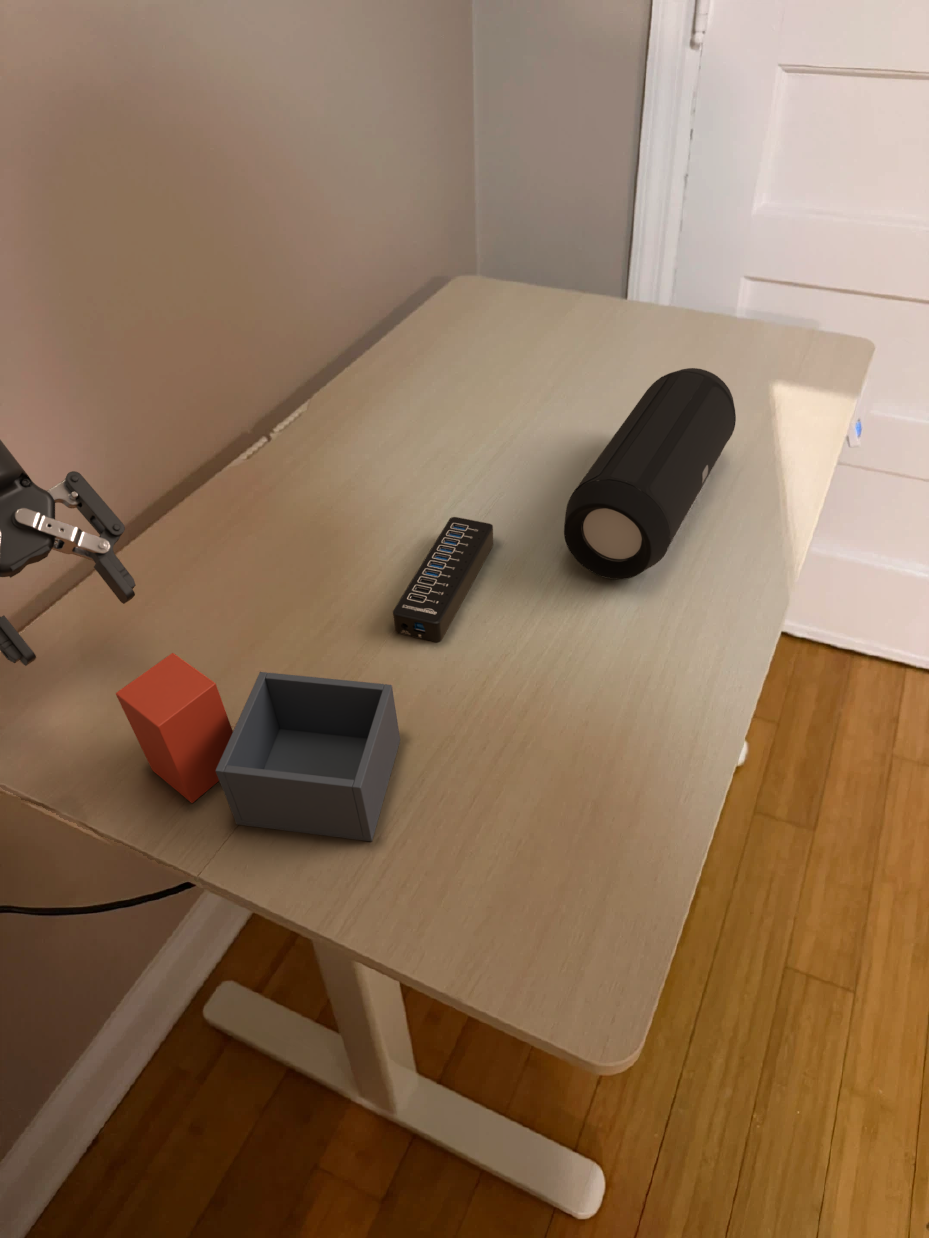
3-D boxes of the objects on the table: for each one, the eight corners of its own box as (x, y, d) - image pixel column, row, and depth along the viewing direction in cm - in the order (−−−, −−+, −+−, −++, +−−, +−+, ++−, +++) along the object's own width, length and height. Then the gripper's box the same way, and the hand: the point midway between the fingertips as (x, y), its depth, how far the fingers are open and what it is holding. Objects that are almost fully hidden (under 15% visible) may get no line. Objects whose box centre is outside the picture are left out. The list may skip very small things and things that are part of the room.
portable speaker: (654, 601, 80) (667, 511, 73) (552, 570, 83) (555, 482, 76) (733, 455, 96) (750, 370, 89) (645, 434, 99) (654, 351, 92)
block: (151, 770, 68) (114, 693, 62) (203, 729, 71) (172, 651, 65) (192, 803, 66) (157, 727, 60) (243, 760, 69) (216, 682, 63)
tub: (236, 824, 65) (214, 770, 60) (276, 726, 71) (259, 671, 67) (372, 841, 63) (360, 787, 59) (400, 739, 70) (392, 684, 65)
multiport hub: (494, 542, 87) (494, 523, 85) (440, 643, 77) (438, 624, 75) (452, 534, 88) (451, 515, 86) (393, 632, 78) (390, 613, 77)
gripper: (-161, 478, 58) (0, 676, 60) (35, 389, 66) (171, 567, 68) (-154, 514, 64) (-9, 692, 67) (24, 428, 72) (149, 591, 74)
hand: (82, 629), depth 67 cm, fingers open, 8 cm apart
